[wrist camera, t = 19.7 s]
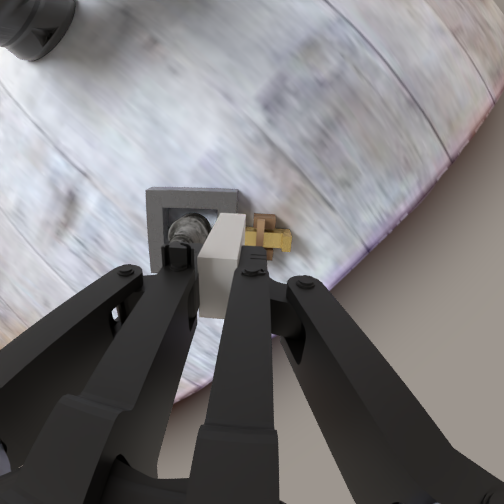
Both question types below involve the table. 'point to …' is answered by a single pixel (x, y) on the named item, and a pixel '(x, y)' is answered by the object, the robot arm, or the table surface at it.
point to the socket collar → (180, 198)
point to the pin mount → (263, 223)
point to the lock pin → (270, 238)
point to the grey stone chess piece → (190, 229)
